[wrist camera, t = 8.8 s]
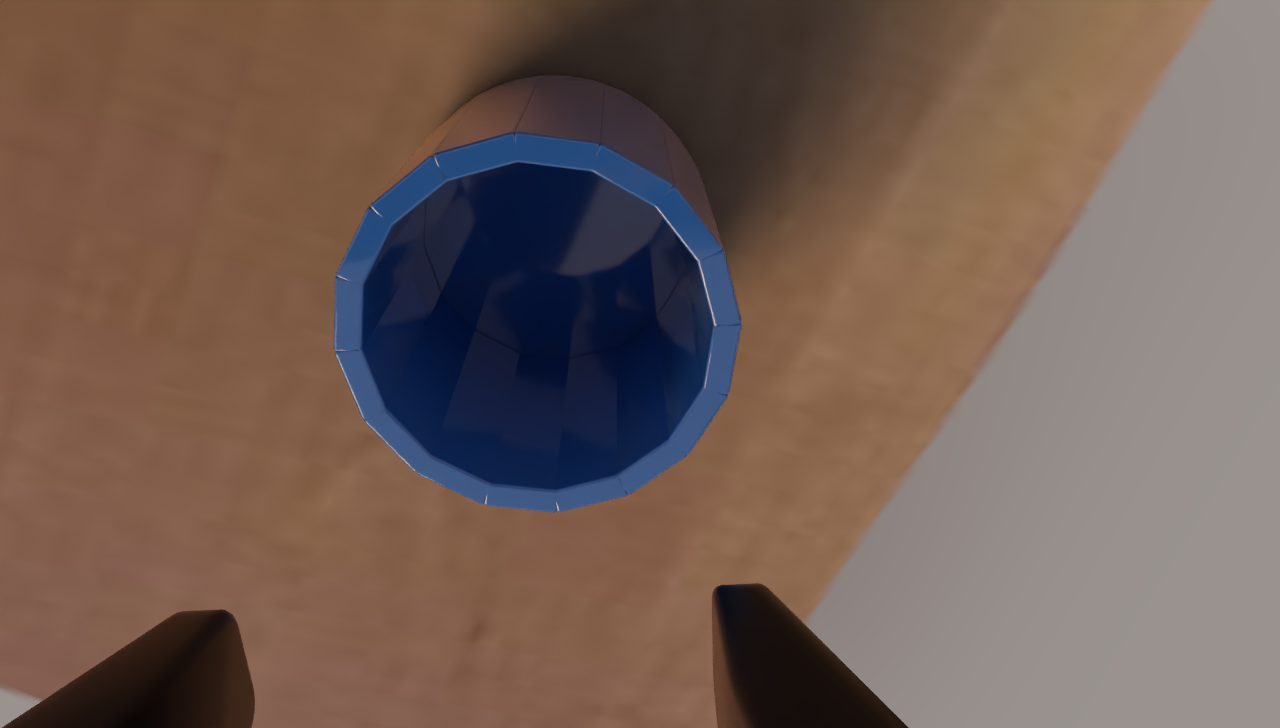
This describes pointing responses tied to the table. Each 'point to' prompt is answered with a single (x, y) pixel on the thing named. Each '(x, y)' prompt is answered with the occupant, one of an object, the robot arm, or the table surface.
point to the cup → (540, 300)
